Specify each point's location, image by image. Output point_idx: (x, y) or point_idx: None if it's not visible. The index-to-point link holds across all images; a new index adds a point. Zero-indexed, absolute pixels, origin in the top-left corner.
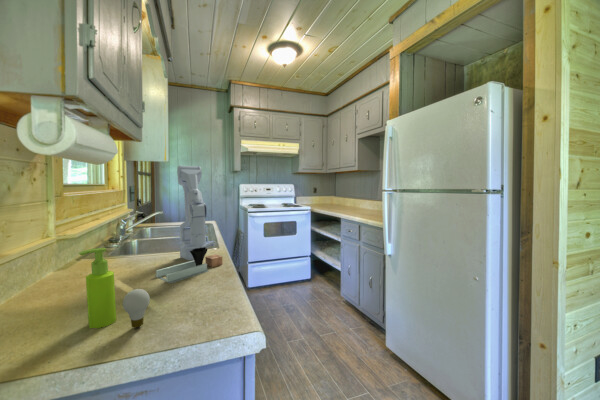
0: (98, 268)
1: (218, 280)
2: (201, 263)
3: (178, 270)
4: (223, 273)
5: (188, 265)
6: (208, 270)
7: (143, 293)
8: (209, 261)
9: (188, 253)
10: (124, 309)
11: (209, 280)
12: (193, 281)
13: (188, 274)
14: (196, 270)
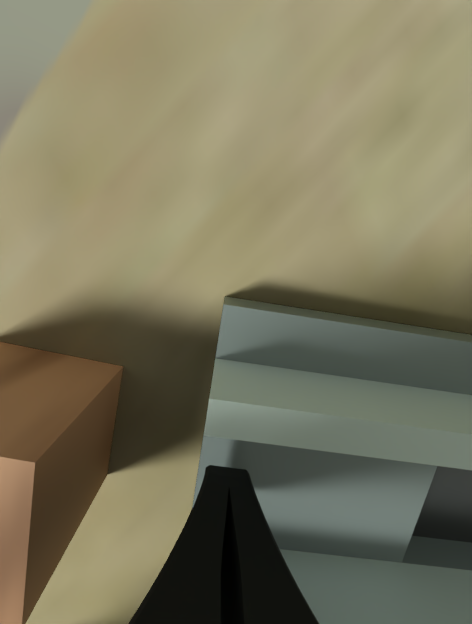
0: None
1: (317, 56)
2: (216, 493)
3: (391, 572)
4: (115, 183)
5: None
6: (221, 328)
7: None
8: (65, 482)
9: None
10: None
11: (359, 162)
12: (442, 296)
13: (464, 399)
14: (371, 395)
